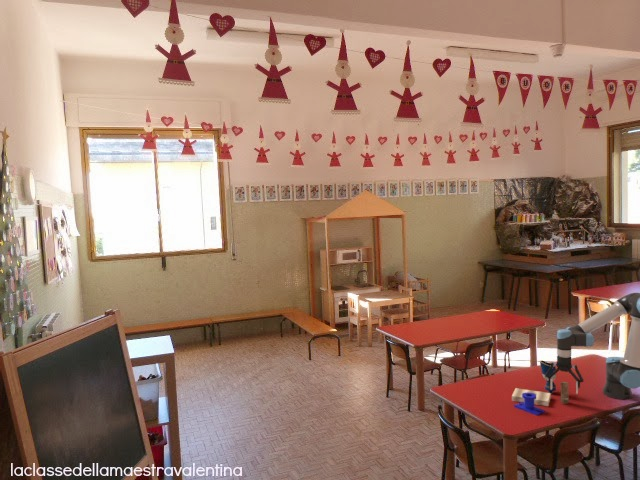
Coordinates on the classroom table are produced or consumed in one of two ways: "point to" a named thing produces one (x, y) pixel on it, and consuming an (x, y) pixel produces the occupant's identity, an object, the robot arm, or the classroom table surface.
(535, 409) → the mount
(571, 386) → the classroom table surface
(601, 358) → the classroom table surface
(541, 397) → the board
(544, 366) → the blue tall vessel
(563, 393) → the peg
